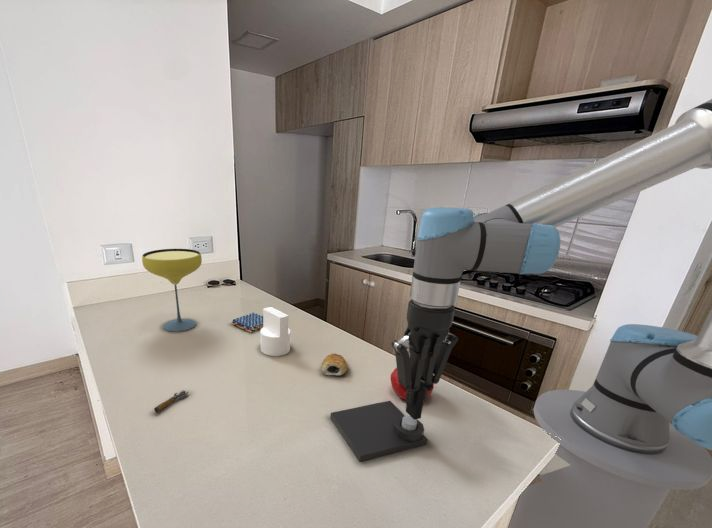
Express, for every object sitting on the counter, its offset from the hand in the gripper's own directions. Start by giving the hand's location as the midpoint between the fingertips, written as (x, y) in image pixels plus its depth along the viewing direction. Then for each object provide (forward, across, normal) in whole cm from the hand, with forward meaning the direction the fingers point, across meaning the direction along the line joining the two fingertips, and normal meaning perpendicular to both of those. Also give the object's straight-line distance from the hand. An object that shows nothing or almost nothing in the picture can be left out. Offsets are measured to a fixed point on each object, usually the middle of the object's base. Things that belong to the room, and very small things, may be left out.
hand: (413, 414), depth 67 cm
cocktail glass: (+5, +42, -71) cm, 83 cm away
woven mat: (+5, +18, -65) cm, 68 cm away
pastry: (+6, +3, -29) cm, 29 cm away
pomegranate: (+6, -10, -13) cm, 17 cm away
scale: (+6, +5, -4) cm, 9 cm away
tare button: (+3, 0, 0) cm, 3 cm away
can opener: (+5, +45, -26) cm, 52 cm away
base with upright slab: (+5, +15, -45) cm, 48 cm away
